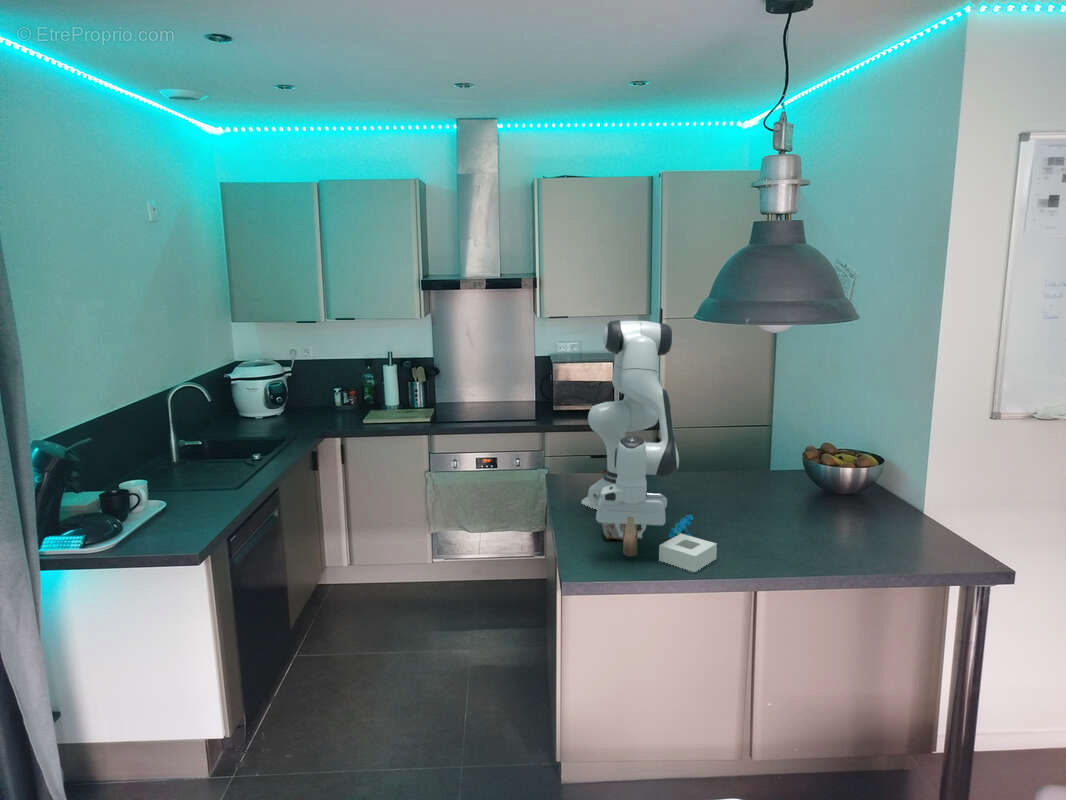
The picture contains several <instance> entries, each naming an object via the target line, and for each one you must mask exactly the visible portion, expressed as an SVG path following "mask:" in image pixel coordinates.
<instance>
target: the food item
mask: <svg viewBox="0 0 1066 800" xmlns="http://www.w3.org/2000/svg"><path fill="white" fill-rule="evenodd" d="M601 527H602V532H603V535H604V536H605V539H606V540H610V539H617V540H616V541H623V537H619V532H618V531H617V529H616V527H615V523H601ZM620 529H621V530H624V524H620Z"/></svg>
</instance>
